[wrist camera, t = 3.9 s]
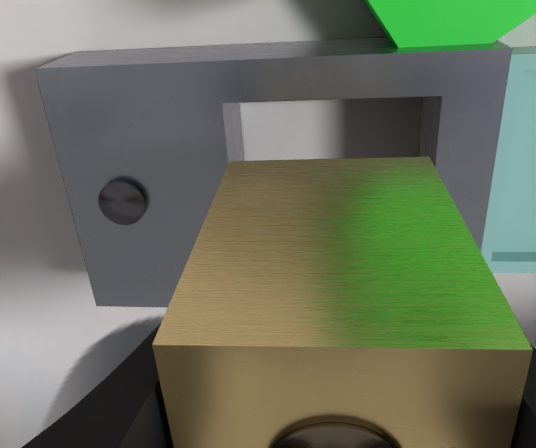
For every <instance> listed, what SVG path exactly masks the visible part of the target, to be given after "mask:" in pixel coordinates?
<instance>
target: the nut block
mask: <svg viewBox="0 0 536 448" xmlns="http://www.w3.org/2000/svg"><path fill="white" fill-rule="evenodd" d="M152 347H153V351H154V356H155V361H156V366H157V370H158V375H159V380H160V385H161V389H162V394H163V399H164V404H165V408H166V413H167V418H168V422H169V427H170V432H171V437H172V441H173V446H174V448H510V446H511V442H512V438H513V433H514V429H515V425H516V421H517V416H518V412H519V408H520V404H521V399H522V395H523V391H524V386H525V382H526V378H527V374H528V369H529V365H530V361H531V357H532V352H533V349H532V347H531V345H530V343H529V341H528V340H527V338H526V336H525V334H524V332H523V330H522V328H521V327H520V325H519V323H518V321H517V319H516V317H515V315H514V314H513V312H512V310H511V308H510V306H509V304H508V302H507V301H506V299H505V297H504V295H503V293H502V291H501V289H500V287H499V286H498V284H497V282H496V280H495V278H494V276H493V274H492V273H491V271H490V269H489V267H488V265H487V263H486V261H485V260H484V258H483V256H482V254H481V252H480V250H479V248H478V247H477V245H476V243H475V241H474V239H473V237H472V235H471V233H470V232H469V230H468V228H467V226H466V224H465V222H464V220H463V219H462V217H461V215H460V213H459V211H458V209H457V207H456V206H455V204H454V202H453V200H452V198H451V196H450V194H449V193H448V191H447V189H446V187H445V185H444V183H443V181H442V179H441V178H440V176H439V174H438V172H437V170H436V168H435V166H434V165H433V163H432V161H431V159H430V157H388V158H348V159H307V160H267V161H230V162H229V164H228V166H227V169H226V171H225V173H224V176H223V178H222V181H221V183H220V185H219V188H218V190H217V192H216V195H215V197H214V200H213V202H212V204H211V207H210V209H209V211H208V214H207V216H206V218H205V221H204V223H203V226H202V228H201V230H200V233H199V235H198V237H197V240H196V242H195V245H194V247H193V249H192V252H191V254H190V256H189V259H188V261H187V264H186V266H185V268H184V271H183V273H182V275H181V278H180V280H179V282H178V285H177V287H176V290H175V292H174V294H173V297H172V299H171V301H170V304H169V306H168V309H167V311H166V313H165V316H164V318H163V320H162V323H161V325H160V328H159V330H158V332H157V335H156V337H155V339H154V342H153V344H152Z"/></svg>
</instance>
